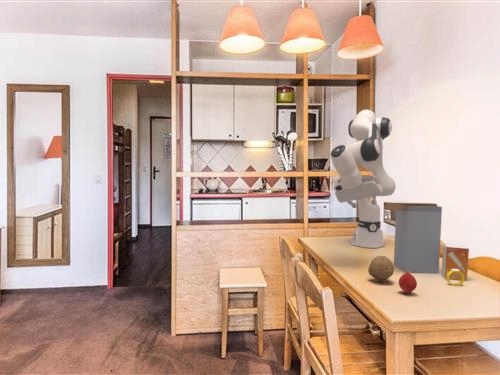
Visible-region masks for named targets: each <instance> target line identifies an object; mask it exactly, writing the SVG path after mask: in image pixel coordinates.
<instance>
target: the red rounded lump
mask: <svg viewBox="0 0 500 375" xmlns="http://www.w3.org/2000/svg"><path fill="white" fill-rule="evenodd" d="M398 284H399V288H400V289H401V290H402V291H403V292H404V293H405V294H410V293H412V292H413V291H415V290H416V289H417V285H418V282H417V280H416V278H415V276H414V275H412V273H410V272H409V271H407V273H405V272H404V273H403V274H402V275H401V276H400V277H399V279H398Z"/></svg>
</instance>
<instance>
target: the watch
mask: <svg viewBox="0 0 500 375" xmlns="http://www.w3.org/2000/svg"><path fill="white" fill-rule="evenodd" d="M453 272H459V273H460V274H461V276H462V279H461V280H459V282H458V283H451V281H450V279H449V276H450V274H451V273H453ZM446 281H447V283H448V284H449V285H451V286H459V285H460V286H461V285H463V283H464V275H463V273H461V272H460V270H459V269H451V271H449V272H448V274H447V277H446Z"/></svg>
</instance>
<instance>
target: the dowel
mask: <svg viewBox="0 0 500 375" xmlns="http://www.w3.org/2000/svg"><path fill="white" fill-rule="evenodd" d="M383 206H384V207H383V208H384V210H385V211H396V210H398V211H407V209H408V206H433V207H437V206H438V204H437V203H435V202H432V203H431V202H430V203H429V202H427V203H426V202H384V203H383Z"/></svg>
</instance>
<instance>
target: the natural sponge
mask: <svg viewBox="0 0 500 375" xmlns="http://www.w3.org/2000/svg"><path fill="white" fill-rule="evenodd" d="M367 270H368V275H369V276H371V277H373V278H374V279H375V280H376V281H378V282H384V281H386V280H388V279H389V278H391V277H392V276H393V275H394V272H395V266H394V262H393V261H391V259H390V257H387V256H385V255H378V256H375V257H373V259H372V260H371V262H370V263H369V266H368V268H367Z"/></svg>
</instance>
